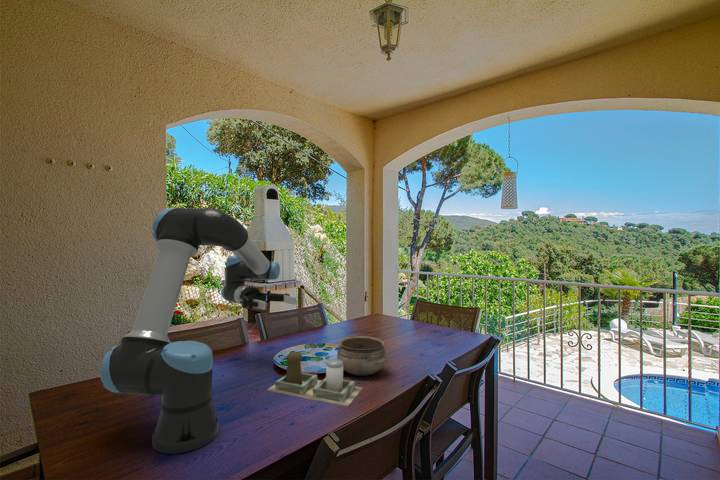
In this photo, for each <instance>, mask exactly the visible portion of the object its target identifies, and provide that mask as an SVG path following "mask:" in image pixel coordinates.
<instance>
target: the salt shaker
mask: <svg viewBox="0 0 720 480" xmlns="http://www.w3.org/2000/svg"><path fill="white" fill-rule="evenodd" d="M325 366H326V370H325V373H326V374H325V378H326V389H327V390H333V391H338V392H341V391H342V390H343V379H344V369H343V361H342V360H340V359H337V358H331V359H328V360H327V361H326V365H325Z"/></svg>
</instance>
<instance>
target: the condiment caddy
mask: <svg viewBox="0 0 720 480" xmlns="http://www.w3.org/2000/svg"><path fill="white" fill-rule="evenodd" d="M301 376H302V385H300V384H295V383H289V382H285V380H286V374H285V375H283V376H282V377H281V378H279V379H277V380H275V382H274V384H273V385H272V386H270V387H268V388H267V389H266V390H265V394H266V395H267V394H268V393H269V392H273V393H278V394H283V395H287V396H291V397H292V396H293V397H298V398H303V399H307V400H313V401H318V402H323V403H326V404H327V403H328V404H333V405H337V406H343V407H347V408H348V407H349V405H350V404H351V403H352V402H353V401H354V400H355V398H356V397H357V396H358V395H359V393H360V392H361V391H362V389H363V387H360V386H356V381H355V380H349V379H344V378H343V390H342V391H341V392H338V391H333V390H327V389H326V377H324V379H322V380H320V379H318V374H314V373H309V372H308V373H307V372H302V371H301Z"/></svg>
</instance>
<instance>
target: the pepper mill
mask: <svg viewBox="0 0 720 480" xmlns="http://www.w3.org/2000/svg"><path fill="white" fill-rule="evenodd" d="M302 360H303V354H302V353H301V352H298V351H291V352H289V353H287V356H286V362H287V368H286V374H285V375H286V380H285V382H289V383H295V384H300V385H302V376H301V372H302V367H301V366H302V364H301V362H302Z"/></svg>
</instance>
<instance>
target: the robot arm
mask: <svg viewBox="0 0 720 480" xmlns="http://www.w3.org/2000/svg"><path fill="white" fill-rule="evenodd" d="M152 231H153V232H152V236H153V239H154V240H155V241H156V242H155V246H156V247H157V248H158V250H159V251H158V254H157V257H156V259H155V263H154V265H153V268H152V270H151V271H152V272H151V274H150V277H149V279H148V283H147V286H146V289H145V291H144V294H143V297H142V300H141V303H140V305H139V309H138V312H137V315H136V317H135V320H134V324H133V326H132V329H131V330H130V331H129V332H128V333H126V334H124V335H123V336H122V338H121V340H120V343H119V344H117V345H115V346H112V347H111V348H110V349H109V351H107V352H106V353H105V355H104V356H103V358H102V360H101V363H100V368H99V376H100V381H101V383H102V386H103V387H104V388H105V389H106V390H107V391H109V392H112V393H116V394H121V395H138V396H139V395H141V396H155V397H156V396H157V397H160V398H161V399H160V400H161V402H160V413H159V415H158V419H157V421H156V427H155V428H154V430H153V432H152V439H151V446H152V448H153V449H154V450H155V451H156V452H158V453H161V454H166V455H167V454H168V455H174V454H175V455H177V454H183V453H188V452H191V451H194V450H197V449H199V448H202V447H204V446H206V445H208V444H209V443H210V442H211V441H213V440H214V439H215V438H216V437H217V435H218V433H219V418H218V417H217V415H216V411H215V407H214V405H213V401H212V400H213V397H212V395H213V372H214V371H213V368H214V359H213V350H212V349H211V347H210V345H208V344H206V343H203V342H199V341H194V340H185V341H183V340H179V341H173V342H171V340H170V338H169V337H168V334H169V330H170V327H171V323H172V320H173V316H174V314H175V310H176V306H177V303H178V300H179V297H180V293H181V290H182V286H183V285H184V284H183V283H184V280H185V277H186V274H187V271H188V270H187V269H188V266H189V263H190V259H191V258H192V257H194V256H196V255H197V254H198V252H199V248H200V247H201V246H215V247H220V248H223V249H224V250H225V251H228V252H231V253H232V254H233V255H230V256H228V257H226V265H225V268H226V269H225V270H226V271H225V284H224V285H223V286H222V288H221V291H220V295H221V297H222V299H224V300H225V301H228V302H230V303H234V304H238V305H242V307H243V308H247V307H248V310H252V309H253V308H255V309H259V310H262V311H265V310H266V307H267V306H266V304H267V303H270V302H280V303H281V302H283V303H284V304H285V303H286V304H290V305H294V306H295V305H297V297H295V296H292V295H291V294H289V293H287V292H286V293H273V292H272V293H271V292H267V293H266V292H261V291H260V290H259V288H257V287H252V286H248V285H245V284H246V280H263V281H267V280H268V281H270V280H271V281H273V280H277V279H279V276H280V273H281V268H280V267H281V265H280V263H279V262H278V261H274V260H273V261H270V260H269V259H268V258H267V257H266V255H264V253H263V252H262V251H261V249H259V247H258V246H257V245H256V244H255V243H254V241H253V240H252V239H251V238H250V237H249V232H248V230H247V228H246V227H245V226H244V225H243V224H242V223H241V222H240V221H239V220H237V219H236V218H234V217H233V216H232V215H230V214H228V213H226V212H224V211H223V210H220V209H215V208H211V207H210V208H206V207H205V208H200V207H199V208H198V207H197V208H193V207H192V208H190V207H187V208H186V207H180V206H179V207H174V208H173V207H172V208H169V207H168V208H166V209H163V210H161V211H160V212H159V213H158V214H157V215H156V216H155V218H154V220H153V223H152ZM290 295H291V296H290Z"/></svg>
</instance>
